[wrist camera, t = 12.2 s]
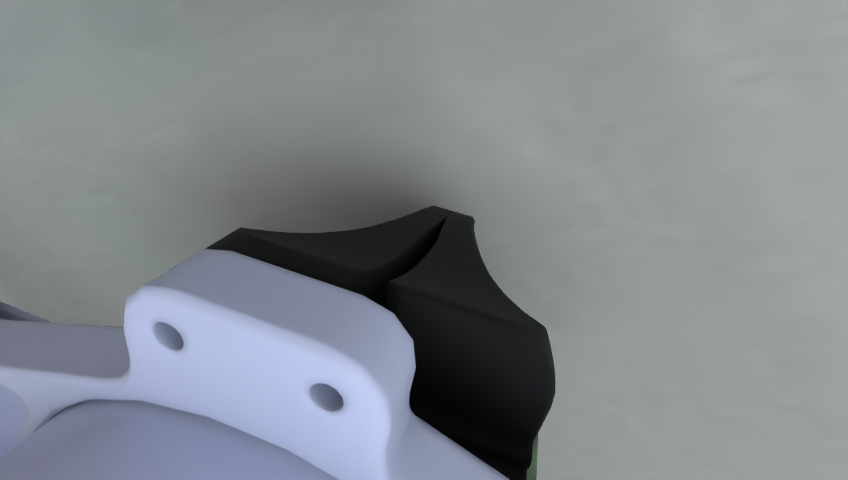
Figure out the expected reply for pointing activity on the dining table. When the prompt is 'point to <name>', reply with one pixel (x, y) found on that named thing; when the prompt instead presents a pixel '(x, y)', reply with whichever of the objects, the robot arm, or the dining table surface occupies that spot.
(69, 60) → the dining table surface
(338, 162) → the dining table surface
